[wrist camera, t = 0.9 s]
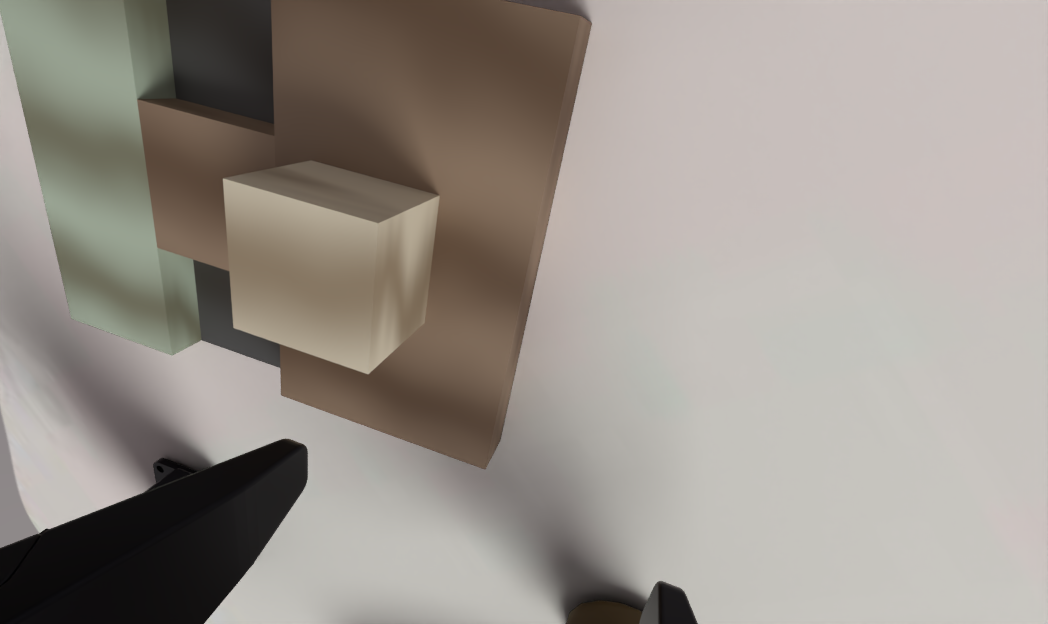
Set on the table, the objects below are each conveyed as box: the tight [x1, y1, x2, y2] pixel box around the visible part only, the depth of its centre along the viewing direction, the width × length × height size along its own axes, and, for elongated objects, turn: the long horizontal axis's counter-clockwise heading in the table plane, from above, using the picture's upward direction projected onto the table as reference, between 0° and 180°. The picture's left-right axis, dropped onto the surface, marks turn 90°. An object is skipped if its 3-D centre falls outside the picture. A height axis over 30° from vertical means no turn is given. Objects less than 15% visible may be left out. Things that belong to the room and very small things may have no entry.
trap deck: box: [0, 0, 592, 469], centre depth 21 cm, size 17×22×2 cm
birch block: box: [223, 160, 440, 374], centre depth 17 cm, size 5×5×4 cm
